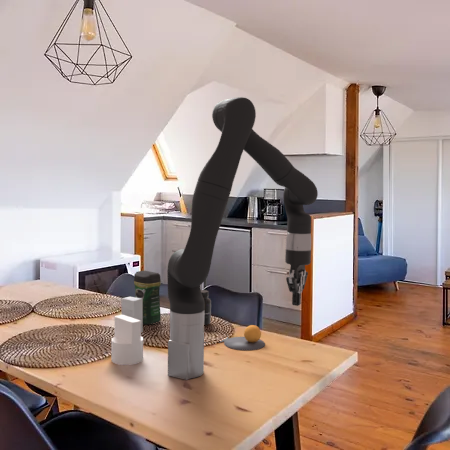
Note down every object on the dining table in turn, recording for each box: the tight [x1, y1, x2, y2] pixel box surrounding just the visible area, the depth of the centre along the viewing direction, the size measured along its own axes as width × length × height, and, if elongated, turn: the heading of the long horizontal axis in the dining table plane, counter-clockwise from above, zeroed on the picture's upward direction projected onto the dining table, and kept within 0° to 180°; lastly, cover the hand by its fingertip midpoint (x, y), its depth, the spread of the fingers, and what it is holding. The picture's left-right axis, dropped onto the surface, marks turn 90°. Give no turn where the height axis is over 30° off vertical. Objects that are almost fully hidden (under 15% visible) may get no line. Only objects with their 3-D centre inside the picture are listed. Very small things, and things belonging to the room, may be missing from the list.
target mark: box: [223, 336, 266, 351], centre depth 162 cm, size 13×13×1 cm
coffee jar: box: [133, 270, 162, 325], centre depth 183 cm, size 10×8×19 cm
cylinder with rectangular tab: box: [110, 314, 144, 366], centre depth 145 cm, size 9×9×12 cm
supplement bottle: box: [201, 289, 212, 326], centre depth 183 cm, size 7×7×12 cm
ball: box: [243, 324, 262, 343], centre depth 163 cm, size 6×6×6 cm
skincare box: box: [121, 296, 144, 332], centre depth 170 cm, size 6×4×12 cm
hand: (296, 304), depth 153 cm, fingers closed
